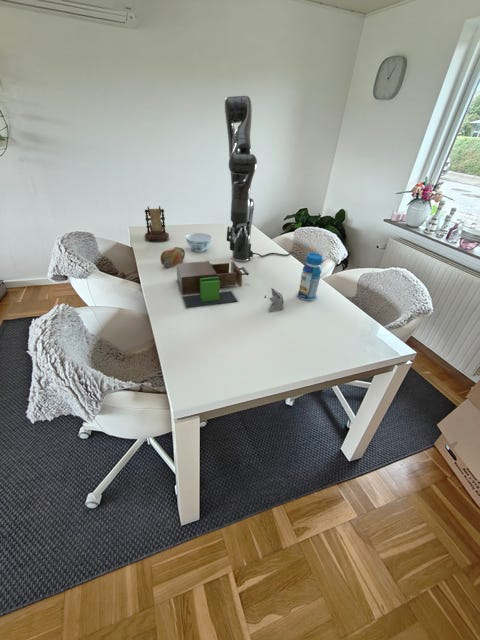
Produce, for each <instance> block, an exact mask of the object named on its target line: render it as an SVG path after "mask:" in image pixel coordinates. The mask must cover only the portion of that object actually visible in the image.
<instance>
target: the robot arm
mask: <svg viewBox="0 0 480 640" xmlns="http://www.w3.org/2000/svg"><path fill="white" fill-rule="evenodd" d="M224 114H225V124H226V131H227V140H228V170H229V172H230V185H231V202H230V221H231V223H232V225H231V226H227V229H226V242H229V250H230V251H232V257H231V258H232V260H233V261H234V262H237V263H245V262H249V261H250V260H251V258H253V257H254V255H257V256H259V257H261V258H264V257H267V256H269V255H277V256H283V257H288V256H290V255H293V254H294V255H296V252H294V251H291V252H290V253H287V254H284V253H278V252H269V253H266V254H264V255H261V254H260V253H257V252H254V251H252V243H251V233H252V226H253V225H252V224H253V218H254V210H255V202H254V199H253V198H251V187H252V182H253V178H254V176H255V173H256V171H257V166H258V159H257V157H256V155H255V154H252V153H251V152H252V146H251V130H252V117H253V116H252V115H253V105H252V100H251V98H250V96H249V95H233V96H227V97H225V99H224ZM234 124H239V125H238V126H237V127H236V128H235V125H234Z"/></svg>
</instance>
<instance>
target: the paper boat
mask: <svg viewBox="0 0 480 640" xmlns="http://www.w3.org/2000/svg"><path fill="white" fill-rule="evenodd" d="M270 289H271V290H270V291H271V295H272V296H271V297H267V294H265V295H264V296H263V298H264V299H269V300H270V301H271V302H272V306H271V308H270V310H269V313H270V312H275V311H281V310H282V309H283V307H284V297H283V294H282V293H281V292H280V291H278V290H276V289H275V288H274V287H272V286H270Z"/></svg>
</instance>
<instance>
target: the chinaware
mask: <svg viewBox="0 0 480 640" xmlns="http://www.w3.org/2000/svg"><path fill="white" fill-rule="evenodd" d="M212 238H213V237H212V235H211V234H209V233H205V232H204V233H203V232H192V233H189V234H187V235H186V236H185V239H186V242H187V245H188V246H189V247H190V248H191V249H193V251H194V252H197V253H202V252H204V251H205V250H206V249H207V248H208V247H209V246H210V245H211V243H212Z"/></svg>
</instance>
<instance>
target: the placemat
mask: <svg viewBox="0 0 480 640" xmlns="http://www.w3.org/2000/svg"><path fill="white" fill-rule="evenodd" d="M182 298H183V301H184V304H185V307H186V308H187V309H188V308H195V307H205V306H212V305H213V306H214V305H220V304H230V303H236V302H238V300H237V298H236V296H235V295H234V293H233V292H232V291H230V290H229V291H221V292H220V291H219V300H215V301H207V302H202V300H201V298H200V294H191V295H184V296H182Z"/></svg>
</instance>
